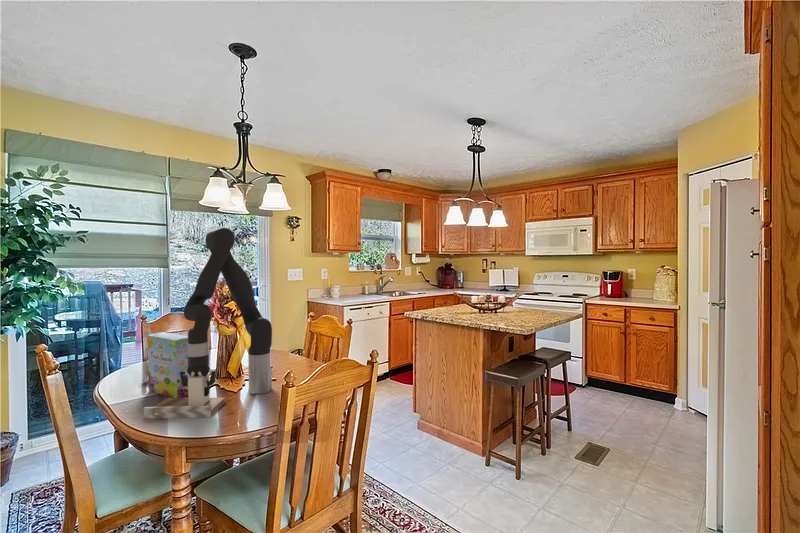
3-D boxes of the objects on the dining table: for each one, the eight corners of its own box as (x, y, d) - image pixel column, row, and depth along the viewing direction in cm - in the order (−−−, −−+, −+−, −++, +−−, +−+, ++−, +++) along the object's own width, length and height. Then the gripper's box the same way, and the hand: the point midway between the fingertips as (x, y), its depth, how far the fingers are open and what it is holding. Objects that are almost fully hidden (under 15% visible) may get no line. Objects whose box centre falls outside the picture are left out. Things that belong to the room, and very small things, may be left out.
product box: (209, 399, 158) (209, 372, 157) (201, 406, 151) (201, 378, 150) (196, 399, 157) (196, 373, 157) (188, 406, 150) (187, 378, 150)
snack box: (146, 391, 173) (145, 334, 173) (165, 385, 181) (165, 331, 180) (176, 400, 163) (175, 339, 162) (195, 393, 171) (194, 335, 170)
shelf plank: (225, 402, 160) (225, 392, 160) (209, 417, 145) (209, 407, 145) (166, 403, 159) (165, 393, 159) (143, 418, 144) (143, 408, 144)
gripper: (220, 351, 158) (221, 392, 158) (184, 351, 157) (185, 393, 157) (212, 355, 150) (213, 399, 151) (174, 356, 149) (175, 399, 150)
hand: (198, 395), depth 154 cm, fingers closed on product box, 5 cm apart
